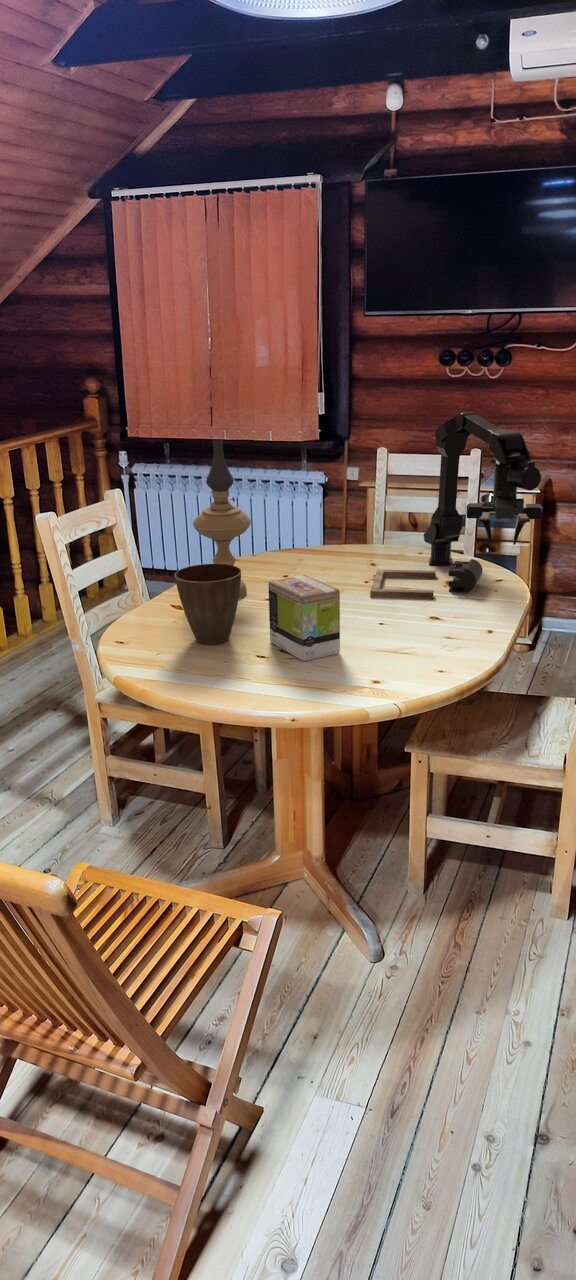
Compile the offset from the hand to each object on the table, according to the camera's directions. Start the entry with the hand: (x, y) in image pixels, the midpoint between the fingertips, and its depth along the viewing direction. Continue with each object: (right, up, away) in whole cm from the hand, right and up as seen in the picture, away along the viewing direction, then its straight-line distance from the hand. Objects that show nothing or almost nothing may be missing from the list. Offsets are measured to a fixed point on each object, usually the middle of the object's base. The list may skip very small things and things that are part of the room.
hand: (502, 544), depth 241 cm
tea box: (-51, -27, -32) cm, 66 cm away
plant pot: (-72, -25, -26) cm, 81 cm away
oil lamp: (-71, -13, +7) cm, 73 cm away
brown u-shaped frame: (-23, -10, +8) cm, 27 cm away
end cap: (-8, -11, +6) cm, 15 cm away
